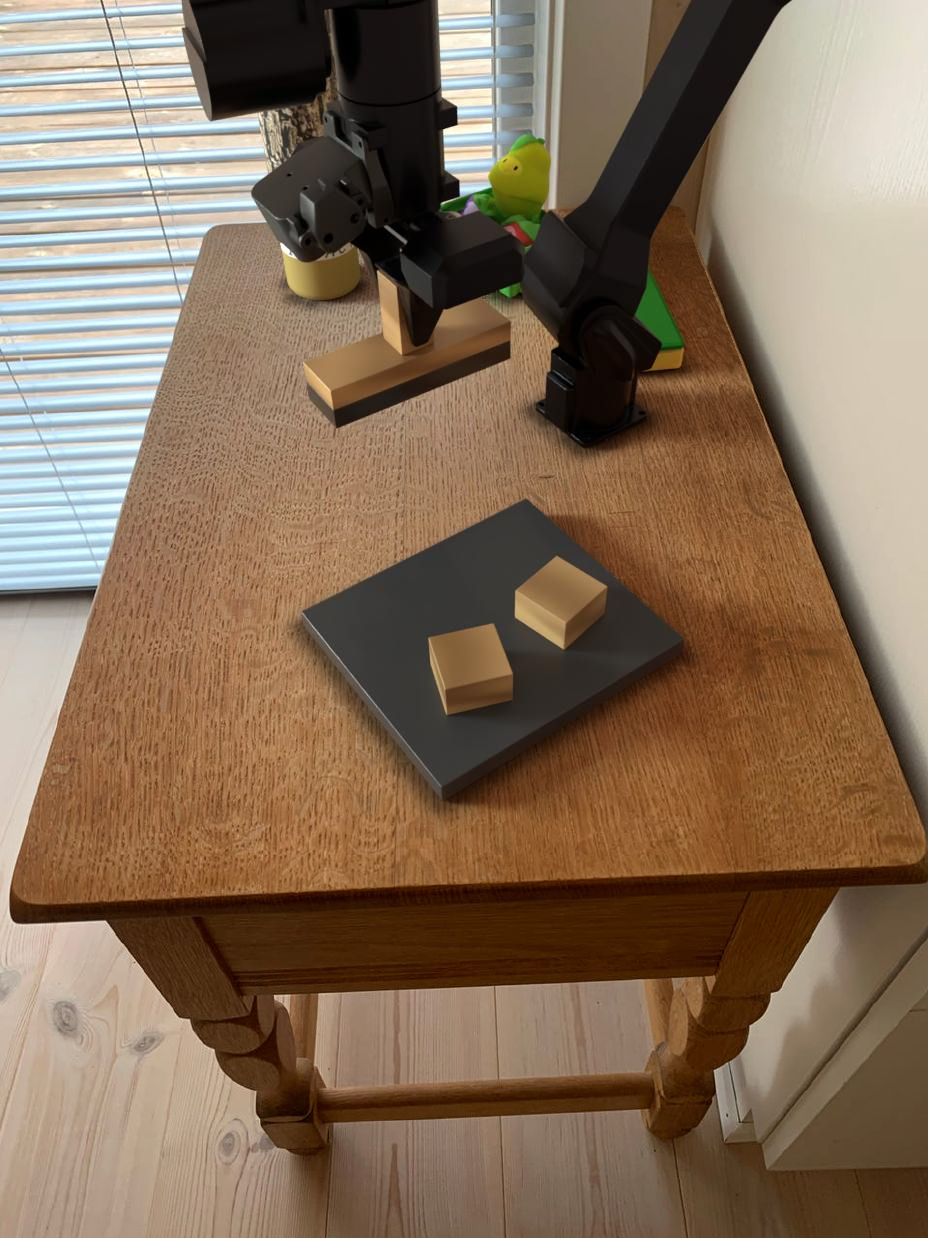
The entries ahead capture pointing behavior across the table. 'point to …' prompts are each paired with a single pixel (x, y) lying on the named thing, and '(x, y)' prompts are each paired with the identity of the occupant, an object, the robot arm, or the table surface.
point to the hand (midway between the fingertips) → (409, 334)
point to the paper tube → (279, 141)
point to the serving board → (485, 594)
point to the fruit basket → (513, 193)
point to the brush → (405, 358)
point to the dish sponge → (661, 326)
